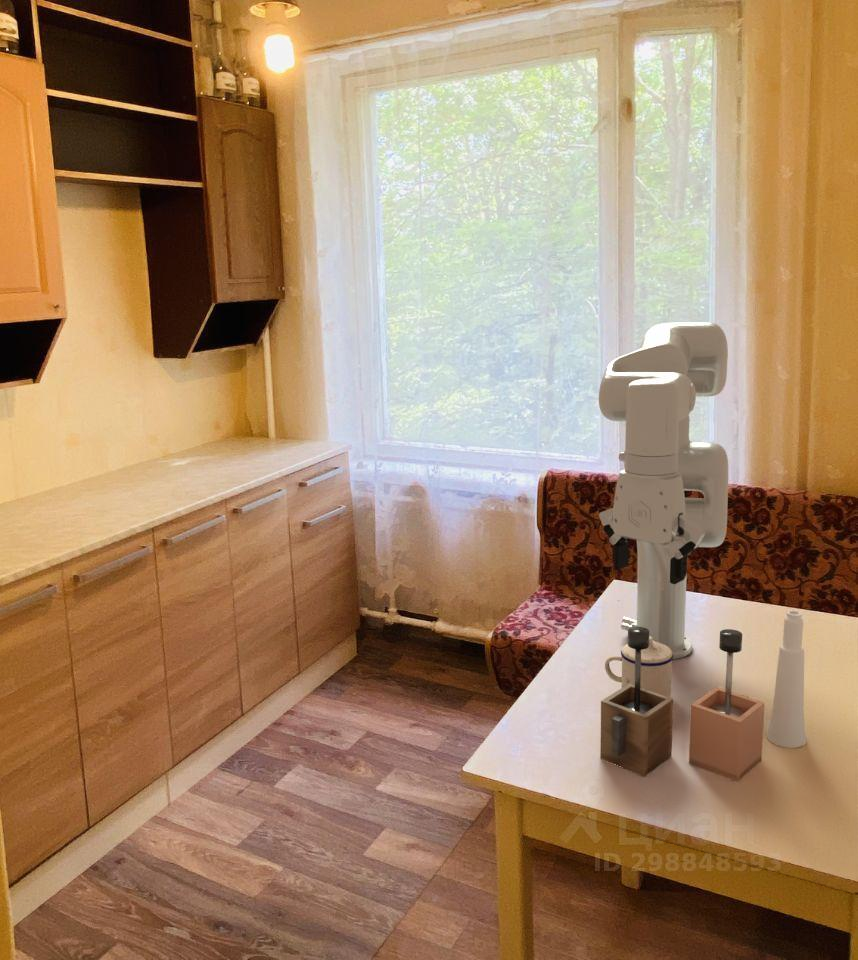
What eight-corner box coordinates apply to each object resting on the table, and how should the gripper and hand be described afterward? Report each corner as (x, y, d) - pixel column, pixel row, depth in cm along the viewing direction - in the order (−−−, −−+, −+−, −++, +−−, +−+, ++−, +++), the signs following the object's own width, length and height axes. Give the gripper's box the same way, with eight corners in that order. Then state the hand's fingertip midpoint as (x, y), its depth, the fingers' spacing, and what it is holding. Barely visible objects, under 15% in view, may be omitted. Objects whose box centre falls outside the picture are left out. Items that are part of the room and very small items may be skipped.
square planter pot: (688, 763, 138) (690, 704, 135) (719, 738, 144) (722, 682, 142) (737, 782, 132) (740, 722, 130) (767, 755, 139) (770, 698, 136)
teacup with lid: (675, 690, 161) (677, 630, 159) (667, 712, 153) (669, 650, 151) (609, 680, 166) (610, 622, 163) (599, 702, 158) (600, 641, 155)
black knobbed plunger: (701, 718, 136) (704, 634, 133) (718, 705, 140) (722, 623, 136) (735, 730, 132) (740, 644, 129) (752, 717, 136) (757, 632, 132)
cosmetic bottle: (807, 733, 145) (816, 608, 140) (804, 751, 140) (814, 622, 135) (768, 726, 147) (775, 603, 142) (764, 744, 142) (771, 616, 137)
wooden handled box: (671, 756, 140) (673, 698, 137) (637, 782, 133) (638, 722, 131) (628, 739, 145) (629, 683, 143) (593, 763, 138) (593, 705, 136)
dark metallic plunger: (611, 714, 138) (612, 631, 135) (631, 701, 142) (632, 620, 139) (642, 726, 134) (644, 641, 131) (662, 713, 138) (664, 629, 135)
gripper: (587, 461, 132) (586, 569, 136) (691, 476, 120) (687, 594, 124) (615, 453, 138) (613, 557, 141) (718, 467, 126) (713, 580, 129)
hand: (648, 574), depth 133 cm, fingers open, 9 cm apart
